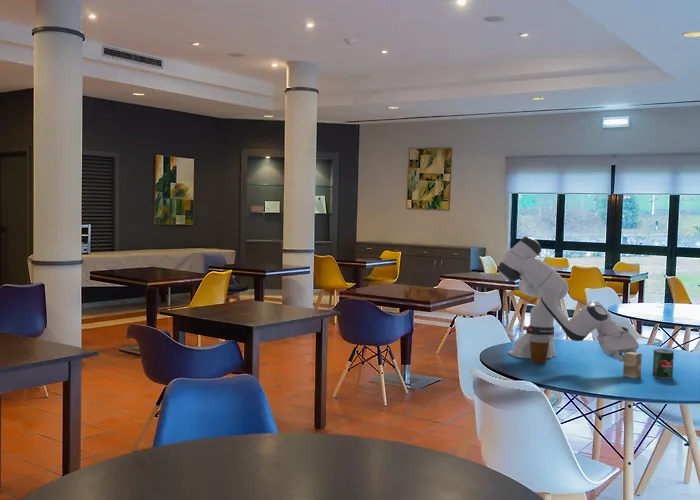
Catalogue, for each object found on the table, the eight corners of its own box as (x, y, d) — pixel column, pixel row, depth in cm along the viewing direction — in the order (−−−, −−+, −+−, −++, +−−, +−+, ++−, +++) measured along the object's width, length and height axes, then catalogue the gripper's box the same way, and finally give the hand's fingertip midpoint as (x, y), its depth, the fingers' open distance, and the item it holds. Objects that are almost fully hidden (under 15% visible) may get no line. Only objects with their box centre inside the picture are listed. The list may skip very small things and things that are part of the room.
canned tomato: (666, 379, 289) (667, 353, 289) (648, 375, 296) (649, 350, 295) (676, 377, 294) (677, 351, 294) (658, 373, 300) (659, 348, 300)
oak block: (633, 378, 290) (634, 354, 290) (623, 375, 294) (624, 352, 294) (640, 377, 293) (641, 353, 292) (630, 374, 297) (631, 351, 296)
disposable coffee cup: (550, 365, 312) (551, 339, 312) (528, 363, 314) (529, 337, 314) (548, 361, 322) (549, 335, 321) (527, 359, 323) (528, 334, 323)
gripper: (599, 330, 294) (618, 357, 286) (630, 328, 305) (649, 353, 297) (590, 339, 298) (609, 366, 290) (621, 336, 309) (639, 362, 301)
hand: (629, 360), depth 294 cm, fingers open, 8 cm apart
